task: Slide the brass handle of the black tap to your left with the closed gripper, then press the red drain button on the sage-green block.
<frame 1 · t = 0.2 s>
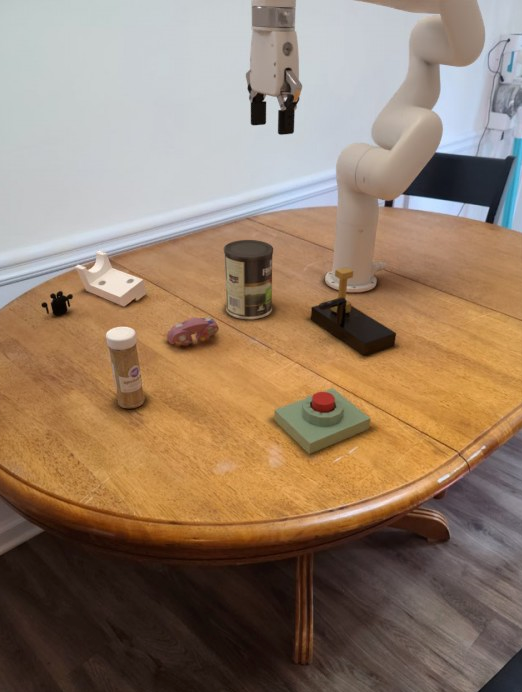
hand: (271, 129, 107), 36 cm above the table, tool pointing down, fingers open, 9 cm apart
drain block: (321, 424, 92), on the table
tap handle: (342, 290, 116), point 8 cm above the table, slide at 0.0 cm
tap base: (351, 332, 118), on the table
drain button: (323, 402, 90), point 4 cm above the table, slide at 0.1 cm
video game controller: (193, 343, 113), on the table
coffee can: (249, 310, 126), on the table
bracket: (114, 295, 130), on the table
sprinkles bottle: (131, 402, 96), on the table
wireless earbuds: (62, 315, 121), on the table
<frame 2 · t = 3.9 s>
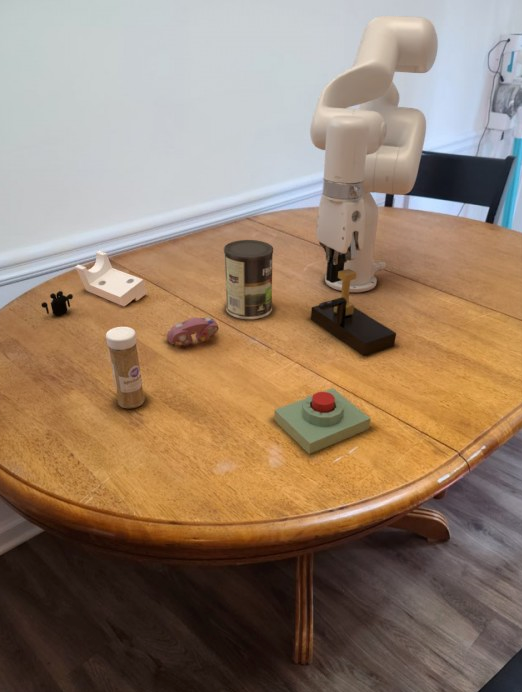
hand: (334, 280, 117), 9 cm above the table, tool pointing down, fingers closed
tap handle: (345, 292, 116), point 8 cm above the table, slide at 0.9 cm
everything else where it was.
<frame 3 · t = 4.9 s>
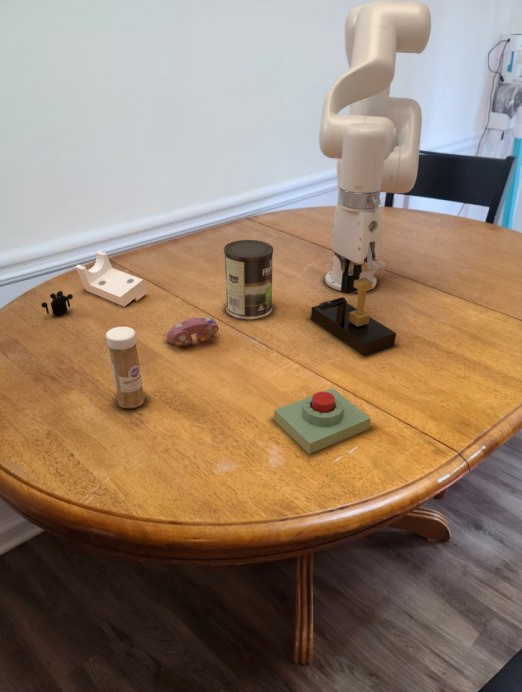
hand: (349, 290, 114), 9 cm above the table, tool pointing down, fingers closed
tap handle: (361, 302, 112), point 8 cm above the table, slide at 6.0 cm, touching gripper
everything else where it was.
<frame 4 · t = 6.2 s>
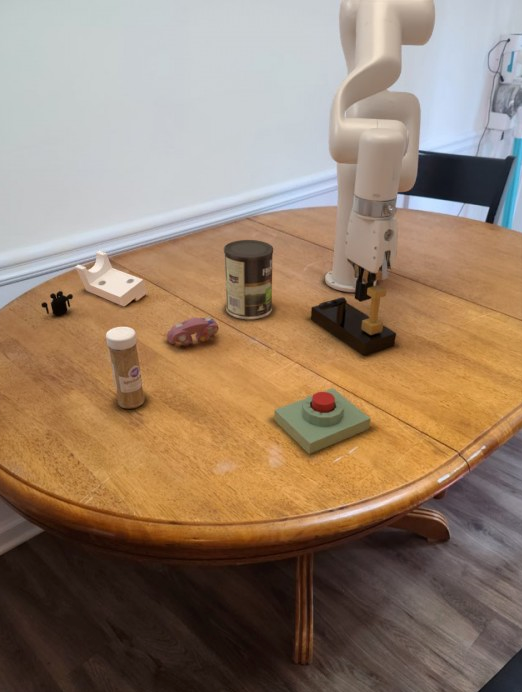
hand: (363, 298, 111), 9 cm above the table, tool pointing down, fingers closed
tap handle: (374, 309, 110), point 8 cm above the table, slide at 10.0 cm, touching gripper
everything else where it was.
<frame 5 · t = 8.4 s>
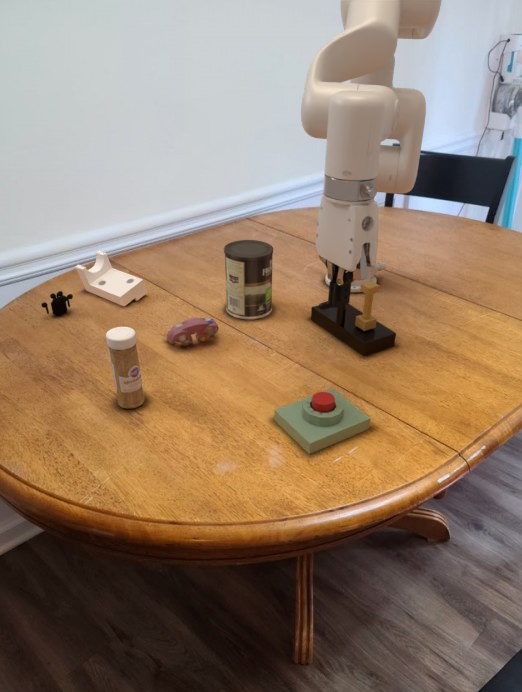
hand: (338, 303, 92), 16 cm above the table, tool pointing down, fingers closed
tap handle: (367, 306, 111), point 8 cm above the table, slide at 8.1 cm
everything else where it was.
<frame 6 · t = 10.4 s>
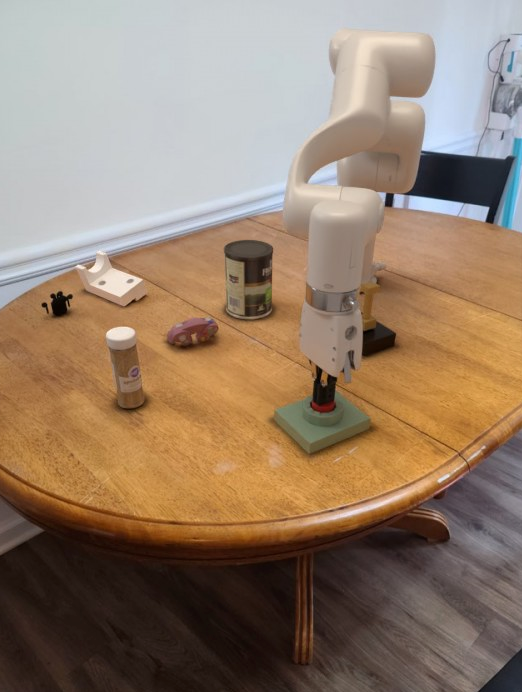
hand: (323, 400, 89), 5 cm above the table, tool pointing down, fingers closed
drain button: (323, 404, 90), point 4 cm above the table, slide at -0.4 cm, touching gripper
everything else where it was.
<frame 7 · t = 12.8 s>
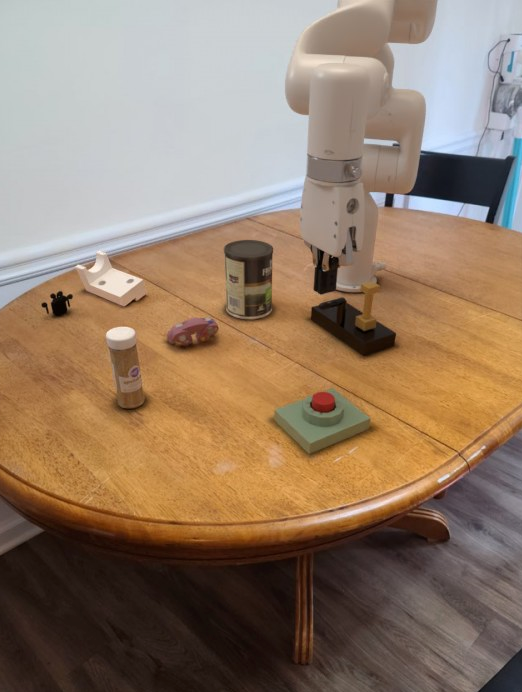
hand: (324, 290, 88), 20 cm above the table, tool pointing down, fingers closed
drain button: (323, 402, 90), point 4 cm above the table, slide at 0.1 cm
everything else where it was.
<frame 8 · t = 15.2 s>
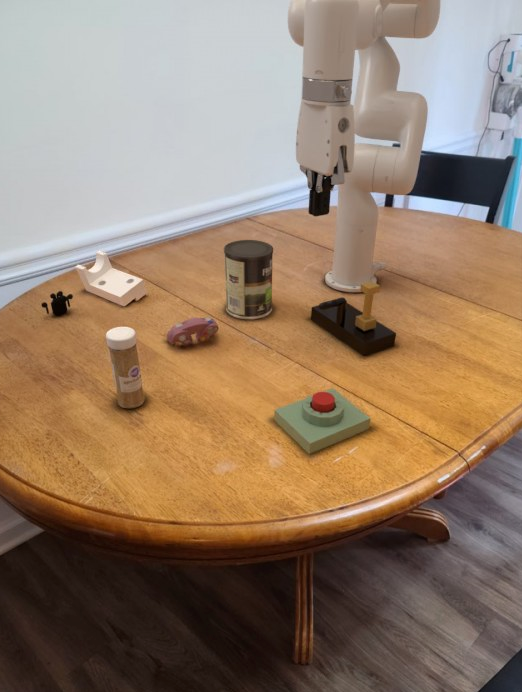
hand: (318, 213, 96), 27 cm above the table, tool pointing down, fingers closed
nothing on the table moved.
at the end: tap handle slide at 8.1 cm; drain button pushed in 1.0 cm at the most during the clip, back to where it started at the end; drain button slide at 0.1 cm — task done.
